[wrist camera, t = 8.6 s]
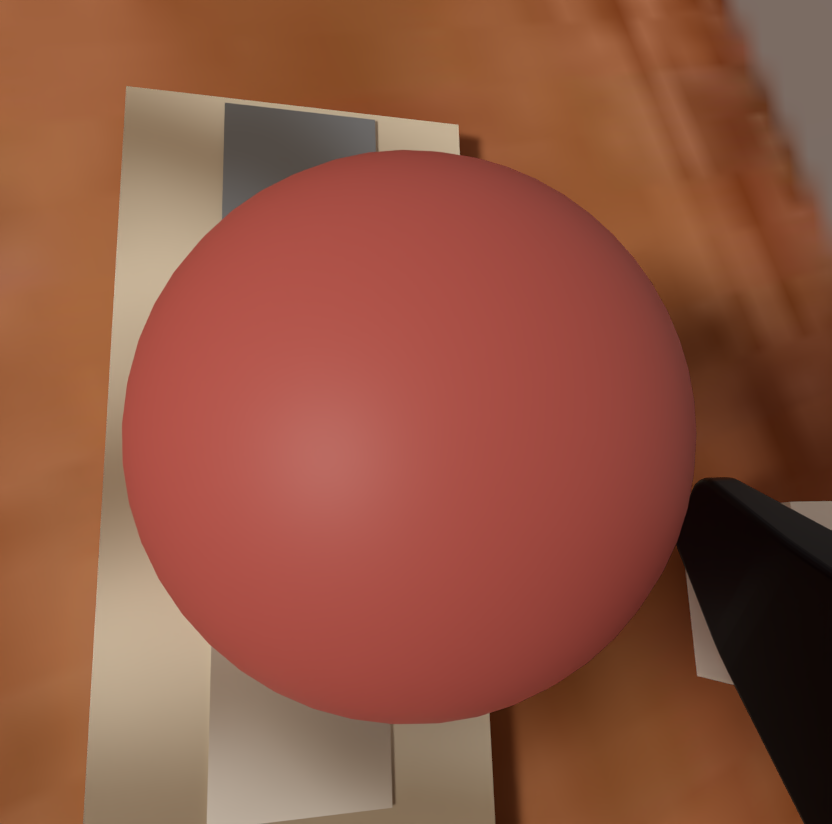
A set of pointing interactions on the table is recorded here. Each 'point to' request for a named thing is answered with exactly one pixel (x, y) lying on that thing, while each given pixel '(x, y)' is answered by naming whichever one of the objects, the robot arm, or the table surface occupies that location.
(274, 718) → the track board
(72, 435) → the table surface
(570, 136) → the table surface
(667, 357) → the pawn
